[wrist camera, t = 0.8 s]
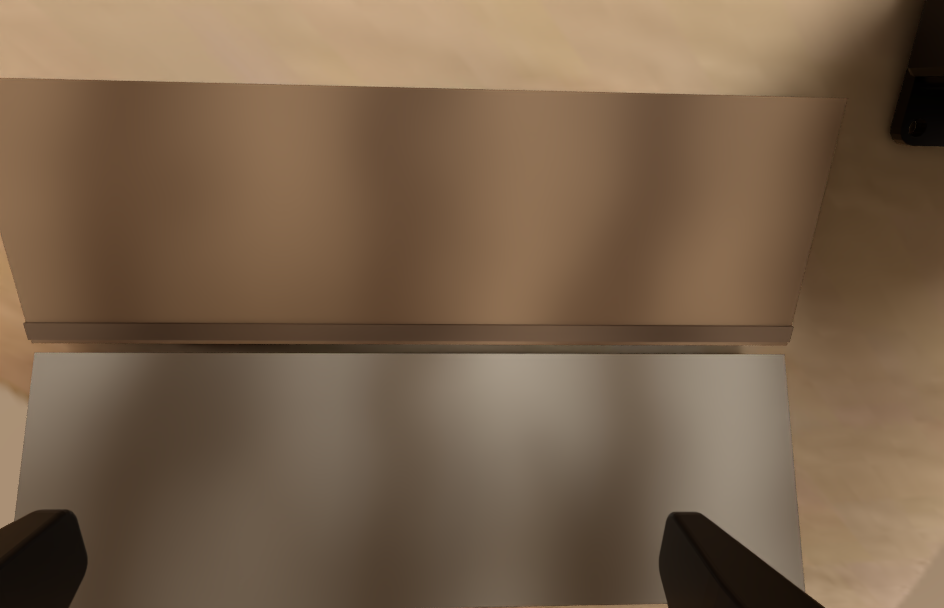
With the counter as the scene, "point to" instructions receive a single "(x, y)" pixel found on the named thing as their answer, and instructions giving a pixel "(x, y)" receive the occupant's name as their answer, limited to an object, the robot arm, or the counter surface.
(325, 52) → the counter surface
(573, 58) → the counter surface
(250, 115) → the walnut plank
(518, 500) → the grey plank
